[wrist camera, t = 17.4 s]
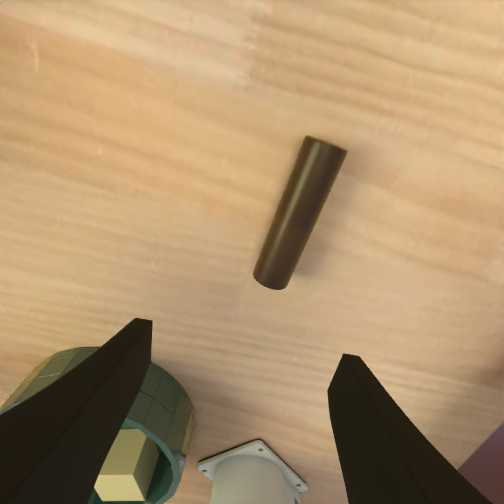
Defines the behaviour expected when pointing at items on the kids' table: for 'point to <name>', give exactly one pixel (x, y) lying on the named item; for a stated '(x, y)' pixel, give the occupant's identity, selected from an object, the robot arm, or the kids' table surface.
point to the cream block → (128, 467)
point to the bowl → (132, 418)
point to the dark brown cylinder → (298, 211)
